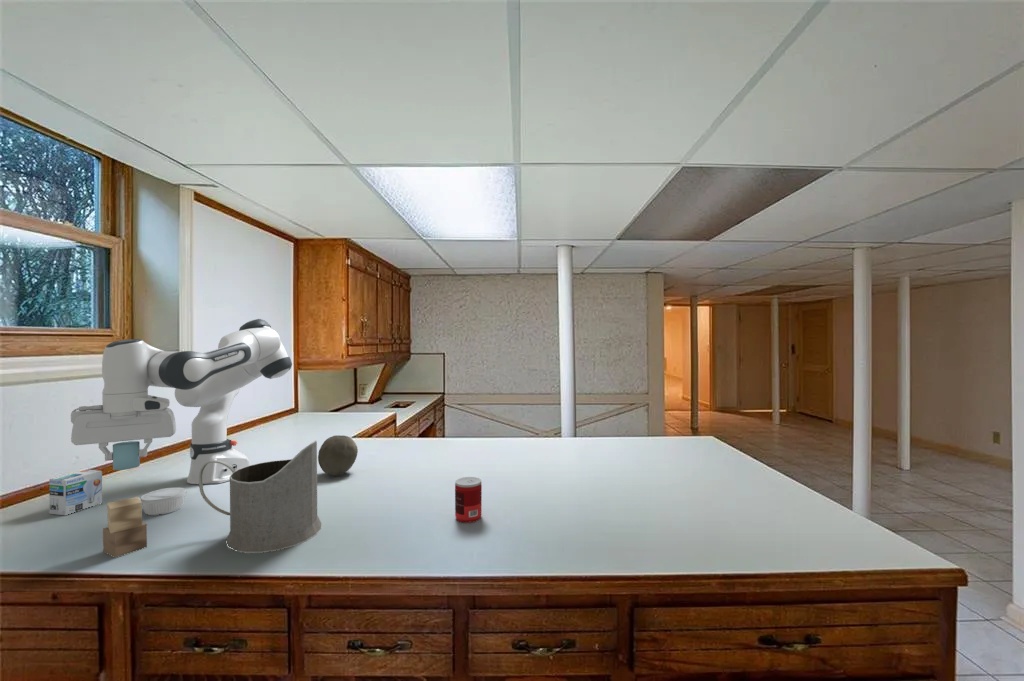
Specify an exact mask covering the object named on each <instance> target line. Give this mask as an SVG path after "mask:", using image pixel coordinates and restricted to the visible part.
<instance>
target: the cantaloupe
mask: <svg viewBox="0 0 1024 681" xmlns="http://www.w3.org/2000/svg"><path fill="white" fill-rule="evenodd" d="M358 450H359V449H358V446H357V444H356V442H355V441H354V439H352V438H351V437H350V436H347V435H332V436H330V437H328V438H327V439H325V440H324V441H323V443H322V444H321V446H320V448H319V449H318V453H317V463H318V466H319V467H320V469H321V471H323V473H325V474H327V475H331V476H333V477H338V476H341V475H344V474H345V473H347V472H348V471H349V470H350V469H351V468H352V466H353V465H354V464H355V462H356V460H357V456H358Z"/></svg>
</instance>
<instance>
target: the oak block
mask: <svg viewBox="0 0 1024 681" xmlns="http://www.w3.org/2000/svg"><path fill="white" fill-rule="evenodd" d="M140 499H141V498H139V496H135V497H131V498H130V497H129V498H124V499H120V500H115V501H110V502H107V503H106V506H107V508H106V509H107V513H106V514H107V518H106V519H107V527H108V529H109V531H110V533H115V532H119V531H124V530H128V529H132V528H136V527H140V526H142V523H143V512H142V511H143V510H142V509H143V505H142V502H141V500H140Z"/></svg>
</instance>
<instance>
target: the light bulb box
mask: <svg viewBox="0 0 1024 681" xmlns="http://www.w3.org/2000/svg"><path fill="white" fill-rule="evenodd" d="M48 479H49V478H48ZM48 483H49V485H48V486H49V488H48V489H49V494H48V495H49V515H50V514H51V515H57V516H68V514H69V515H71V513H72V514H74V512H75V513H77V512H76V511H78V512H80V511H79V510H81V511H83V510H82V509H84V510H86V509H85V508H87V509H89V508H88V507H90V508H92V507H91V506H93V507H95V506H94V505H97V504H100V503H102V504H103V471H102V470H94V469H83V470H79V471H76V472H72V473H68V474H64V475H60V476H57V477H53V478H52V477H51V478H50V479H49V482H48ZM100 505H101V504H100ZM97 506H98V505H97Z"/></svg>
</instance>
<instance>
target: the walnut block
mask: <svg viewBox="0 0 1024 681" xmlns="http://www.w3.org/2000/svg"><path fill="white" fill-rule="evenodd" d="M147 529H148V528H147V523H145V522H142V526H140V527H136V528H132V529H128V530H124V531H119V532H115V533H110V531H109V529H108V526H107V527H103V528H102V549H103V551H104V552H105V553H104V552H103V551H102V552H103V553H104V554H106V553H108V554H110V555H112V556H114V557H117V558H119V557H118V556H120V557H122V556H121V555H123V556H125V555H124V554H126V555H128V554H127V553H129V554H131V553H130V552H132V553H133V551H135V552H137V551H140V550H143V549H145V548H144V547H146V548H148V538H147V537H148V534H147V532H148V530H147ZM142 548H143V549H142ZM139 549H140V550H139ZM136 550H137V551H136ZM108 554H107V555H108ZM110 555H109V556H110ZM112 556H111V557H112ZM114 557H113V558H114Z"/></svg>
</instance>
